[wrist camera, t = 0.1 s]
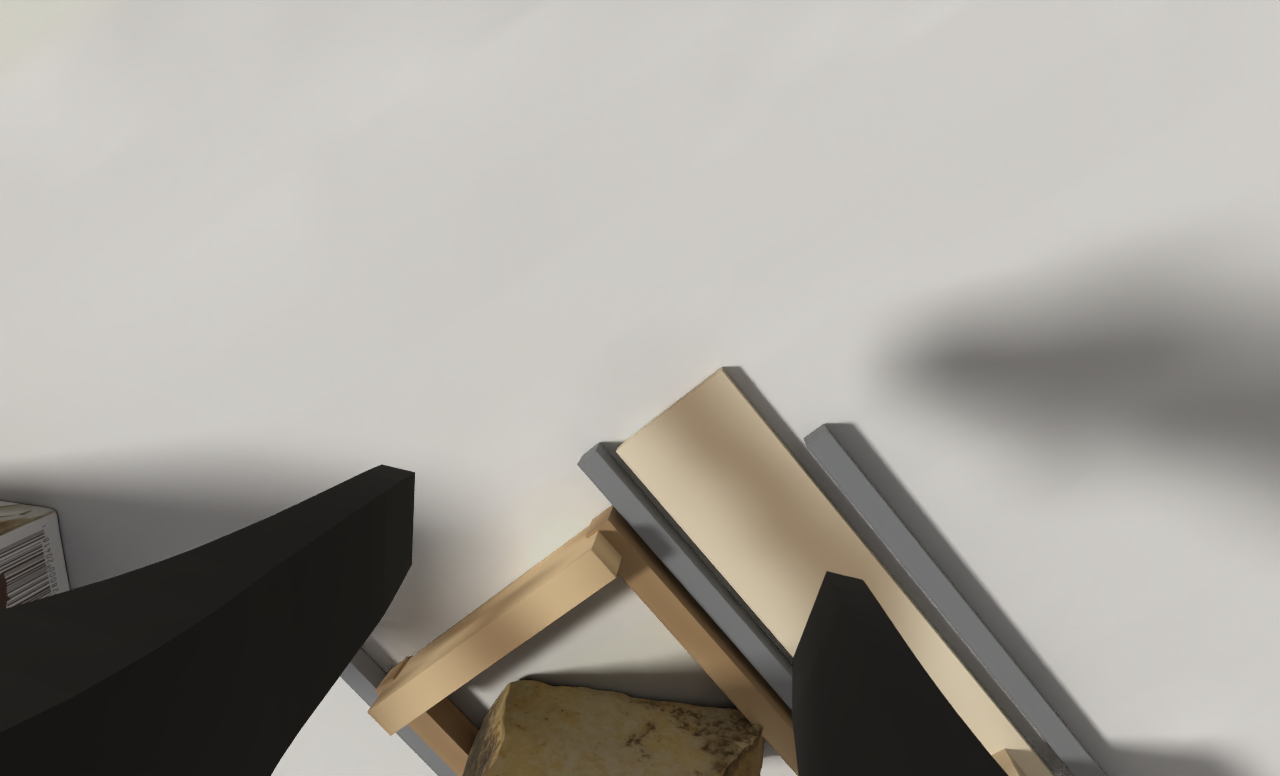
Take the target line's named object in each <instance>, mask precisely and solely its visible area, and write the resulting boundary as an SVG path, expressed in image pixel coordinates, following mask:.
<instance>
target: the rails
mask: <svg viewBox="0 0 1280 776" xmlns="http://www.w3.org/2000/svg"><path fill="white" fill-rule="evenodd" d="M804 441H805V443H806V446H807V448H808V449H809V450H810V451H811V452H812V454H813V455H814V456H815V457H816V459H817V460H818V461H819V462H820V464H821V465H822V466H823V467H824V468H825V470H826V471H827V472H828V473H829V475H830V476H831V477H832V478H833V480H834V481H835V482H836V483H837V484H838V486H839V487H840V488H841V489H842V491H843V492H844V493H845V494H846V496H847V497H848V498H849V499H850V500H851V502H852V503H853V504H854V505H855V507H856V508H857V509H858V510H859V512H860V513H861V514H862V515H863V516H864V518H865V519H866V520H867V521H868V523H869V524H870V525H871V526H872V528H873V529H874V530H875V531H876V532H877V534H878V535H879V536H880V537H881V539H882V540H883V541H884V542H885V544H886V545H887V546H888V547H889V548H890V550H891V551H892V552H893V553H894V555H895V556H896V557H897V558H898V560H899V561H900V562H901V563H902V565H903V566H904V567H905V568H906V569H907V571H908V572H909V573H910V574H911V576H912V577H913V578H914V579H915V581H916V582H917V583H918V584H919V585H920V587H921V588H922V589H923V590H924V592H925V593H926V594H927V595H928V597H929V598H930V599H931V600H932V601H933V603H934V604H935V605H936V606H937V608H938V609H939V610H940V611H941V613H942V614H943V615H944V616H945V617H946V619H947V620H948V621H949V622H950V624H951V625H952V626H953V627H954V629H955V630H956V631H957V632H958V633H959V635H960V636H961V637H962V638H963V640H964V641H965V642H966V643H967V645H968V646H969V647H970V648H971V649H972V651H973V652H974V653H975V654H976V656H977V657H978V658H979V659H980V661H981V662H982V663H983V664H984V665H985V667H986V668H987V669H988V670H989V672H990V673H991V674H992V675H993V677H994V678H995V679H996V680H997V681H998V683H999V684H1000V685H1001V686H1002V688H1003V689H1004V690H1005V691H1006V693H1007V694H1008V695H1009V696H1010V698H1011V699H1012V700H1013V701H1014V702H1015V704H1016V705H1017V706H1018V707H1019V709H1020V710H1021V711H1022V712H1023V714H1024V715H1025V716H1026V717H1027V718H1028V720H1029V721H1030V722H1031V723H1032V725H1033V726H1034V727H1035V728H1036V730H1037V731H1038V732H1039V733H1040V734H1041V736H1042V737H1043V738H1044V739H1045V741H1046V742H1047V743H1048V744H1049V746H1050V747H1051V748H1052V749H1053V750H1054V752H1055V753H1056V754H1057V755H1058V757H1059V758H1060V759H1061V760H1062V762H1063V763H1064V764H1065V765H1066V766H1067V768H1068V769H1069V770H1070V771H1071V773H1072V774H1073V775H1074V776H1106V774H1105V773H1104V772H1103V771H1102V769H1101V768H1100V767H1099V766H1098V764H1097V763H1096V762H1095V761H1094V759H1093V758H1092V757H1091V756H1090V754H1089V753H1088V752H1087V751H1086V749H1085V748H1084V747H1083V746H1082V744H1081V743H1080V742H1079V741H1078V739H1077V738H1076V737H1075V736H1074V734H1073V733H1072V732H1071V731H1070V729H1069V728H1068V727H1067V726H1066V724H1065V723H1064V722H1063V721H1062V719H1061V718H1060V717H1059V716H1058V715H1057V713H1056V712H1055V711H1054V710H1053V708H1052V707H1051V706H1050V705H1049V703H1048V702H1047V701H1046V700H1045V698H1044V697H1043V696H1042V695H1041V693H1040V692H1039V691H1038V690H1037V688H1036V687H1035V686H1034V685H1033V683H1032V682H1031V681H1030V680H1029V678H1028V677H1027V676H1026V675H1025V673H1024V672H1023V671H1022V670H1021V668H1020V667H1019V666H1018V665H1017V663H1016V662H1015V661H1014V660H1013V658H1012V657H1011V656H1010V655H1009V653H1008V652H1007V651H1006V650H1005V649H1004V647H1003V646H1002V645H1001V644H1000V642H999V641H998V640H997V639H996V637H995V636H994V635H993V634H992V632H991V631H990V630H989V629H988V627H987V626H986V625H985V624H984V622H983V621H982V620H981V619H980V617H979V616H978V615H977V614H976V612H975V611H974V610H973V609H972V607H971V606H970V605H969V604H968V602H967V601H966V600H965V599H964V597H963V596H962V595H961V594H960V592H959V591H958V590H957V589H956V587H955V586H954V585H953V584H952V583H951V581H950V580H949V579H948V578H947V576H946V575H945V574H944V573H943V571H942V570H941V569H940V568H939V566H938V565H937V564H936V563H935V561H934V560H933V559H932V558H931V556H930V555H929V554H928V553H927V551H926V550H925V549H924V548H923V546H922V545H921V544H920V543H919V541H918V540H917V539H916V538H915V536H914V535H913V534H912V533H911V531H910V530H909V529H908V528H907V526H906V525H905V524H904V523H903V521H902V520H901V519H900V518H899V517H898V515H897V514H896V513H895V512H894V510H893V509H892V508H891V507H890V505H889V504H888V503H887V502H886V500H885V499H884V498H883V497H882V495H881V494H880V493H879V492H878V490H877V489H876V488H875V487H874V485H873V484H872V483H871V482H870V480H869V479H868V478H867V477H866V475H865V474H864V473H863V472H862V470H861V469H860V468H859V467H858V465H857V464H856V463H855V462H854V460H853V459H852V458H851V457H850V455H849V454H848V453H847V452H846V451H845V449H844V448H843V447H842V446H841V444H840V443H839V442H838V441H837V439H836V438H835V437H834V436H833V434H832V433H831V432H830V431H829V429H828V428H827V427H826V426H825V424H823V425H822V426H820V427H819V428H817V429H816V430H815V431H813V432H812V433H810V434H809V435H808V436H806V437H805V438H804ZM577 465H578V466H579V467H580V468H581V469H582V470H583V472H584V473H585V474H586V475H587V476H588V477H589V478H590V480H591V481H592V482H593V483H594V484H595V485H596V486H597V488H598V489H599V490H600V491H601V492H602V493H603V494H604V496H605V497H606V498H607V499H608V500H609V501H610V503H611V504H612V505H613V506H614V507H615V508H616V509H617V511H618V512H619V513H620V514H621V515H622V516H623V517H624V519H625V520H626V521H627V522H628V523H629V524H630V525H631V527H632V528H633V529H634V530H635V531H636V532H637V533H638V535H639V536H640V537H641V538H642V539H643V540H644V541H645V543H646V544H647V545H648V546H649V547H650V548H651V549H652V551H653V552H654V553H655V554H656V555H657V556H658V557H659V559H660V560H661V561H662V562H663V563H664V564H665V565H666V567H667V568H668V569H669V570H670V571H671V572H672V573H673V575H674V576H675V577H676V578H677V579H678V580H679V581H680V583H681V584H682V585H683V586H684V587H685V588H686V590H687V591H688V592H689V593H690V594H691V595H692V596H693V598H694V599H695V600H696V601H697V602H698V603H699V604H700V606H701V607H702V608H703V609H704V610H705V611H706V612H707V614H708V615H709V616H710V617H711V618H712V619H713V620H714V622H715V623H716V624H717V625H718V626H719V627H720V628H721V630H722V631H723V632H724V633H725V634H726V635H727V636H728V638H729V639H730V640H731V641H732V642H733V643H734V644H735V646H736V647H737V648H738V649H739V650H740V651H741V652H742V654H743V655H744V656H745V657H746V658H747V659H748V660H749V662H750V663H751V664H752V665H753V666H754V667H755V668H756V670H757V671H758V672H759V673H760V674H761V675H762V677H763V678H764V679H765V680H766V681H767V682H768V683H769V685H770V686H771V687H772V688H773V689H774V690H775V691H776V693H777V694H778V695H779V696H780V697H781V698H782V699H783V701H784V702H785V703H786V704H787V705H788V706H789V707H790V709H791V710H792V665H791V663H790V662H789V661H788V660H787V659H786V658H785V656H784V655H783V654H782V653H781V652H780V651H779V649H778V648H777V647H776V646H775V645H774V644H773V643H772V641H771V640H770V639H769V638H768V637H767V636H766V634H765V633H764V632H763V631H762V630H761V629H760V627H759V626H758V625H757V624H756V623H755V622H754V621H753V619H752V618H751V617H750V616H749V615H748V614H747V612H746V611H745V610H744V609H743V608H742V607H741V605H740V604H739V603H738V602H737V601H736V600H735V598H734V597H733V596H732V595H731V594H730V593H729V592H728V590H727V589H726V588H725V587H724V586H723V585H722V583H721V582H720V581H719V580H718V579H717V578H716V576H715V575H714V574H713V573H712V572H711V571H710V570H709V568H708V567H707V566H706V565H705V564H704V563H703V561H702V560H701V559H700V558H699V557H698V556H697V554H696V553H695V552H694V551H693V550H692V549H691V548H690V546H689V545H688V544H687V543H686V542H685V541H684V539H683V538H682V537H681V536H680V535H679V534H678V532H677V531H676V530H675V529H674V528H673V527H672V525H671V524H670V523H669V522H668V521H667V520H666V519H665V517H664V516H663V515H662V514H661V513H660V512H659V510H658V509H657V508H656V507H655V506H654V505H653V503H652V502H651V501H650V500H649V499H648V498H647V497H646V495H645V494H644V493H643V492H642V491H641V490H640V488H639V487H638V486H637V485H636V484H635V483H634V481H633V480H632V479H631V478H630V477H629V476H628V475H627V473H626V472H625V471H624V470H623V469H622V468H621V466H620V465H619V464H618V463H617V462H616V461H615V459H614V458H613V457H612V456H611V455H610V454H609V453H608V451H607V450H606V449H605V448H604V447H603V446H602V444H601V443H600V442H599V443H598V444H597V445H596V446H594V447H593V448H592V449H590V450H589V451H588V452H587V453H585V454H584V455H583V456H582V457H581V459H580V461H579V462H578V464H577ZM386 675H387V674H386V673H385V672H384V671H383V670H382V669H381V668H380V667H379V666H378V665H377V664H376V663H375V662H374V661H373V660H372V659H371V658H370V657H369V656H368V655H367V654H366V653H365V652H364V651H363V650H362V649H361V648H360V649H359V651H358V652H357V653H356V655H355V656H354V657H353V659H352V660H351V662H350V663H349V664H348V666H347V667H346V668H345V670H344V671H343V672H342V674H341V675H340V677H341V678H342V679H343V680H344V681H345V682H346V683H347V684H348V685H349V686H350V687H351V688H352V689H353V690H354V691H355V692H356V693H357V694H358V695H359V696H360V697H361V698H362V699H363V700H364V701H365V702H366V703H367V704H368V705H369V706H370V707H371V706H372V705H373V703H374V702H375V701H376V699H377V698H378V696H379V695H378V694H377V693H376V692H375V690H376V689H377V687H378V686H379V685H380V683H381V682H382V680H383V679H384V678H385V676H386ZM396 733H397V734H398V735H399V736H400V737H401V738H402V739H403V740H404V742H405V743H406V744H407V745H408V746H409V747H410V748H411V749H412V750H413V751H414V752H415V753H416V754H417V755H418V756H419V757H420V758H421V759H422V760H423V761H424V762H425V763H426V764H427V765H428V766H429V767H430V768H431V769H432V770H433V771H434V772H435V773H436V774H437V775H438V776H458V775H457V774H456V773H455V772H454V771H453V770H452V769H451V768H450V767H449V766H448V765H447V764H446V763H445V762H444V761H443V760H442V759H441V758H440V757H439V756H438V755H437V754H436V753H435V752H434V751H433V750H432V749H431V748H430V747H429V746H428V745H427V744H426V743H425V742H424V741H423V740H422V739H421V738H420V737H419V736H418V735H417V734H416V733H415V732H414V730H413V729H412V728H411V727H410V726H409V725H408V724H407V725H405V726H404V727H403V728H401V729H400V730H398V731H397V732H396Z"/></svg>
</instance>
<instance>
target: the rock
mask: <svg viewBox="0 0 1280 776" xmlns="http://www.w3.org/2000/svg"><path fill="white" fill-rule="evenodd" d="M762 730H763V726H762V725H760V724H751V723H750V721H749V720H748V719H747V718H746V717H745V716H744V715H743V713H742V712H741V711H740V710H738V709H730V708H725V709H721V708H716V707H700V706H695V705H689V704H687V703H677V702H672V701H668V700H666V701H655V700H649V699H642V698H634V697H630V696H627V695H626V694H624V693H619V692H616V691H603V690H595V689H590V688H587V687H567V686H558V687H555V686H550V685H548V684H545V683H542V682H539V681H534V680H532V681H527V680H521V681H515V682H511V683H509V684H508V685H507V686H506V687H505V689H504V690H503V691H502V693H501V694H500V695H499V697H498V698H497V699H496V701H495V702H494V704H493V705H492V707H491V708H490V710H489V712H488V713H487V714H486V716H485V718H484V720H483V722H482V724H481V726H480V729H479V731H478V733H477V736H476V738H475V740H474V743H473V746H472V748H471V751H470V753H469V756H468V759H467V762H466V766H465V769H464V772H463V775H462V776H760V771H761V768H762V762H763V749H764V740H765V738H764V737H763V736H762Z"/></svg>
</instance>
